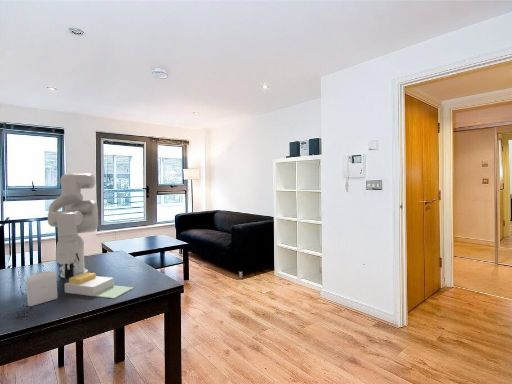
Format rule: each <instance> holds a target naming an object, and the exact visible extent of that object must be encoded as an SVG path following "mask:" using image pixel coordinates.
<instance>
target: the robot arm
mask: <svg viewBox="0 0 512 384" xmlns="http://www.w3.org/2000/svg"><path fill="white" fill-rule="evenodd" d="M95 185H96V177H95V175H94V174H93V173H67V174H66V173H65V174H63V175H62V176H61V177H60V186H61V194H60V195H59V196H58V197H56V198H55V199H54V200H53V201H52V202H51V203H50V205H49V207H48V211H47V212H48V213H47V223H48V225H49V226H50V227H53V228H57V243H56V247H55V262H56V263H57V264H59V265H60V266H61V267H59V271H62V272H61V273H60V278H61V279H62V278H64V279H69V278H72V277H75V276H77V275H80V274H83V273H85V272H88V273H89V270H88V269H87V268H85V267H86V266H85V244H84V240H83V238H82V236H80V234H84V233H85V234H87V233H94V232H96V231H97V230H98V227H99V209H98V203H97V202H96V201H94V200H89V199H88V200H84V196H83V194H82V192H81V191H82V190H87V189H89V190H91V189H93V188H94V187H95ZM62 208H64V210H60V209H62Z"/></svg>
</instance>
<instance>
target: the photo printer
mask: <svg viewBox="0 0 512 384" xmlns="http://www.w3.org/2000/svg"><path fill="white" fill-rule="evenodd" d="M57 279H58V278H57V274H56V272H55V271H50V270H49V271H41V272H38V273H35V274H32V275H30V276H28V277H27V278H26V296H27V297H26V299H27V306H28V307H33V306H36V305H40V304H42V303H46V302H49V301H54V300H57V299H58V298H59V297H58V282H57V281H58V280H57Z"/></svg>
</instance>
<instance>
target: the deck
mask: <svg viewBox="0 0 512 384" xmlns="http://www.w3.org/2000/svg"><path fill="white" fill-rule="evenodd" d="M114 285H115V278H114V277H111V276H110V277H108V276H97V275H96V278H93V279H91V280H88V281H86V282H83V283H81V284H75V283H69V281H68V282H66V283H64V293H67V294H74V295H81V296H90V297H95V296H94V295H96V294H98V293H100V292H102V291H104V290H106V289H108V288H110V287H112V286H114Z"/></svg>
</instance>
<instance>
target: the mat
mask: <svg viewBox="0 0 512 384" xmlns="http://www.w3.org/2000/svg"><path fill="white" fill-rule="evenodd" d="M133 289H134V287H132V286H125V285H115V284H114V286H112V287H110V288H108V289H106V290H104V291H102V292H100V293H98V294H96V295H94V296H93V297H95V298H96V297H98V298H105V299H114V300H115V299H116V298H118V297H120V296H123V295H124V294H126V293H127V292H129V291H131V290H133Z"/></svg>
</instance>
